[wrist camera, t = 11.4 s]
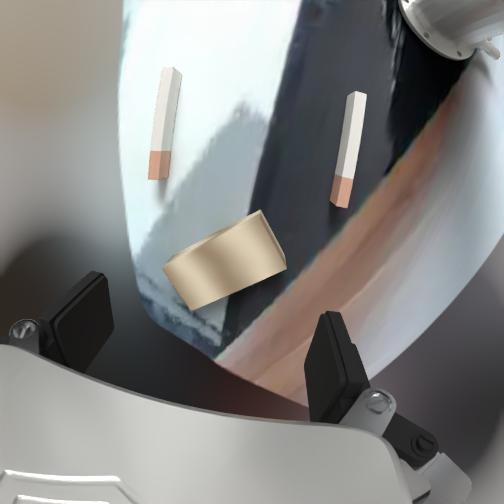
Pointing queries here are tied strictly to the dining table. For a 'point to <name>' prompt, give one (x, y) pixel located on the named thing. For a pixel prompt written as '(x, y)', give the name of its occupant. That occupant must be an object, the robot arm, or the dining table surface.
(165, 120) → the walled lane
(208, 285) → the birch block
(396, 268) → the dining table surface
